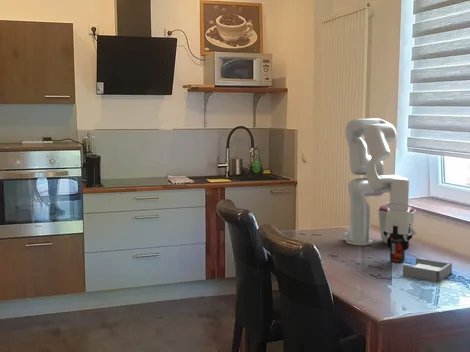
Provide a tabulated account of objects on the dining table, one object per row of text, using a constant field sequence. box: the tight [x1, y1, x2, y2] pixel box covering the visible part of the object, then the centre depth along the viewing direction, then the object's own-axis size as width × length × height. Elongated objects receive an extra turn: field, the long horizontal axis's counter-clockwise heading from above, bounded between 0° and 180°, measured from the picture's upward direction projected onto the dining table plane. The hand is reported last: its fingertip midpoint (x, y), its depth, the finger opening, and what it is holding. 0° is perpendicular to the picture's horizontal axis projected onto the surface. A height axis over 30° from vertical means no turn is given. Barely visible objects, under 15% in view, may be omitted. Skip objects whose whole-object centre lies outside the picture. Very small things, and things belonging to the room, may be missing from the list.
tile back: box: [414, 264, 431, 269], centre depth 214 cm, size 5×5×3 cm
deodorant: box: [389, 226, 406, 263], centre depth 229 cm, size 6×6×15 cm
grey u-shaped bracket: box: [402, 257, 453, 283], centre depth 212 cm, size 14×14×4 cm
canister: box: [376, 204, 417, 245], centre depth 260 cm, size 18×18×21 cm
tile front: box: [427, 266, 441, 271], centre depth 210 cm, size 5×5×3 cm
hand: (397, 248), depth 229 cm, fingers open, 6 cm apart
